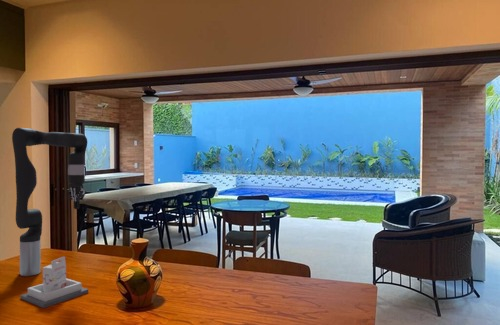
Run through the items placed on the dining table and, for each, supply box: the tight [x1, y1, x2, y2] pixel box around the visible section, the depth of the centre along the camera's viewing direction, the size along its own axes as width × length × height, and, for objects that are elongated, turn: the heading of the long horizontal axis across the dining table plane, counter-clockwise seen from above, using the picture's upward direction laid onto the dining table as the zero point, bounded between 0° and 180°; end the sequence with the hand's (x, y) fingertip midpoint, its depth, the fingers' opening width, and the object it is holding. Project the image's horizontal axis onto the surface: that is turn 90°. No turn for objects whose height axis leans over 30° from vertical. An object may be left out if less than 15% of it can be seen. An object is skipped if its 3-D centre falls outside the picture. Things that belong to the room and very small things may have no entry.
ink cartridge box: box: [42, 256, 67, 293], centre depth 163 cm, size 9×5×15 cm, turn 166°
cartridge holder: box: [20, 277, 89, 309], centre depth 163 cm, size 18×20×4 cm
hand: (76, 208), depth 184 cm, fingers closed
